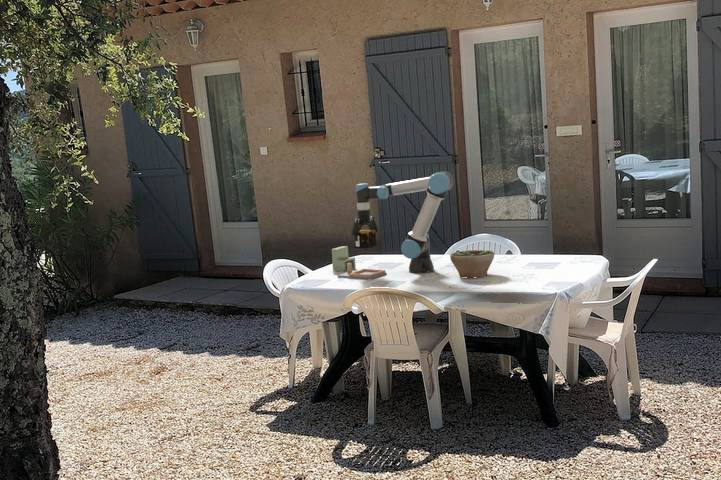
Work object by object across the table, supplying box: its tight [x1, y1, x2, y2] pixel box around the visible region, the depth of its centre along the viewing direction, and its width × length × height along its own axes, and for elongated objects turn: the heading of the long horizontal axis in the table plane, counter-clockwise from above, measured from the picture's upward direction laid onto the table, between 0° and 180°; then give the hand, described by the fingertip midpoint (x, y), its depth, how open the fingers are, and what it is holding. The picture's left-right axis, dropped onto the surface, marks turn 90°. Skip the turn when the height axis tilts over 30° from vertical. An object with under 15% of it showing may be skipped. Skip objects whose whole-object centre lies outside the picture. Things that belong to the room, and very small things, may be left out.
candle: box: [353, 229, 378, 250], centre depth 473 cm, size 10×10×10 cm
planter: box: [449, 249, 495, 279], centre depth 450 cm, size 26×25×15 cm
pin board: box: [337, 263, 388, 280], centre depth 473 cm, size 25×16×7 cm, turn 55°
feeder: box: [331, 245, 357, 273], centre depth 497 cm, size 9×12×14 cm
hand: (365, 244), depth 473 cm, fingers closed on candle, 12 cm apart
